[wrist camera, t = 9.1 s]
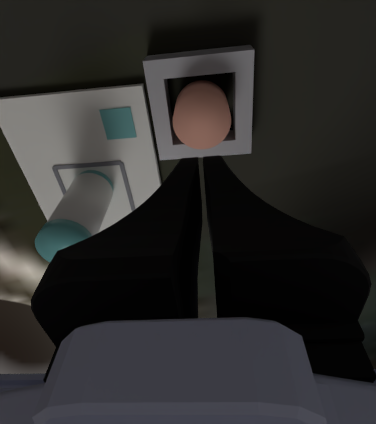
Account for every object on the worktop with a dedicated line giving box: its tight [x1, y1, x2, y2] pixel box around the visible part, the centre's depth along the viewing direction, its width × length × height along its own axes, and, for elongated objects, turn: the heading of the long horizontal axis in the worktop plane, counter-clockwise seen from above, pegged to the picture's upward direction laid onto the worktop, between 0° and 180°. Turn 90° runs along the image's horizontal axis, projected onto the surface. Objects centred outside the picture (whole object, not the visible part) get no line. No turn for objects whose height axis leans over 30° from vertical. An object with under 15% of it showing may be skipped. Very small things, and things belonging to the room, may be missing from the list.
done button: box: [173, 80, 231, 149], centre depth 17 cm, size 3×3×2 cm
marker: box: [35, 170, 113, 262], centre depth 20 cm, size 3×3×7 cm
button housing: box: [143, 45, 254, 160], centre depth 18 cm, size 6×6×2 cm
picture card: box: [0, 84, 161, 233], centre depth 23 cm, size 16×10×1 cm, turn 6°
